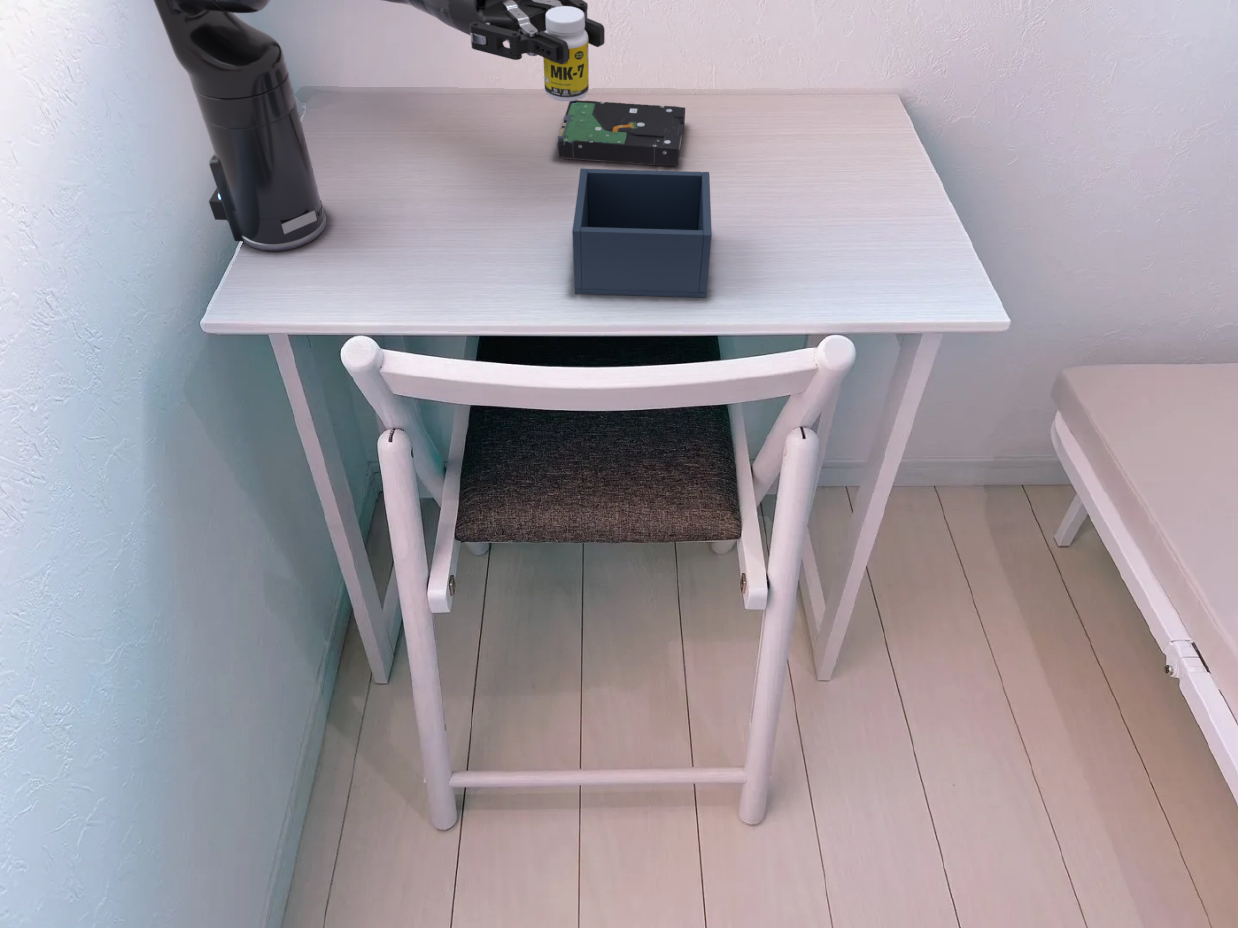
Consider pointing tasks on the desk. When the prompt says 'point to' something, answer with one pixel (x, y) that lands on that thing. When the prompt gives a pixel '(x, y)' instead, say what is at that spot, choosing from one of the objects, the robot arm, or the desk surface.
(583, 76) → the supplement bottle
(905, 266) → the desk surface
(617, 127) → the disk drive
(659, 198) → the bin
